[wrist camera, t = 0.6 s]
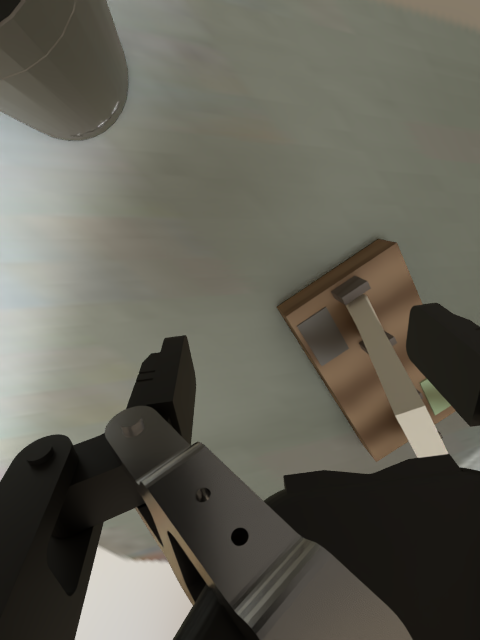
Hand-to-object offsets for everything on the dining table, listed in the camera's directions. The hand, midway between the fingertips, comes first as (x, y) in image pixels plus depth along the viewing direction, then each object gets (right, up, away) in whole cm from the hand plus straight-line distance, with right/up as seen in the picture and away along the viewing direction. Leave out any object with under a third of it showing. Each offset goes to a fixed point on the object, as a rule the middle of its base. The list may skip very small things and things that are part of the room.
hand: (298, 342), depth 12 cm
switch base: (+12, -3, +26) cm, 28 cm away
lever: (+9, +2, +20) cm, 22 cm away
